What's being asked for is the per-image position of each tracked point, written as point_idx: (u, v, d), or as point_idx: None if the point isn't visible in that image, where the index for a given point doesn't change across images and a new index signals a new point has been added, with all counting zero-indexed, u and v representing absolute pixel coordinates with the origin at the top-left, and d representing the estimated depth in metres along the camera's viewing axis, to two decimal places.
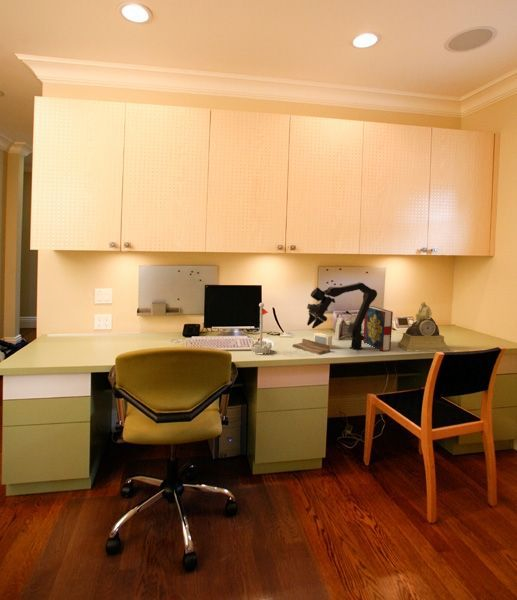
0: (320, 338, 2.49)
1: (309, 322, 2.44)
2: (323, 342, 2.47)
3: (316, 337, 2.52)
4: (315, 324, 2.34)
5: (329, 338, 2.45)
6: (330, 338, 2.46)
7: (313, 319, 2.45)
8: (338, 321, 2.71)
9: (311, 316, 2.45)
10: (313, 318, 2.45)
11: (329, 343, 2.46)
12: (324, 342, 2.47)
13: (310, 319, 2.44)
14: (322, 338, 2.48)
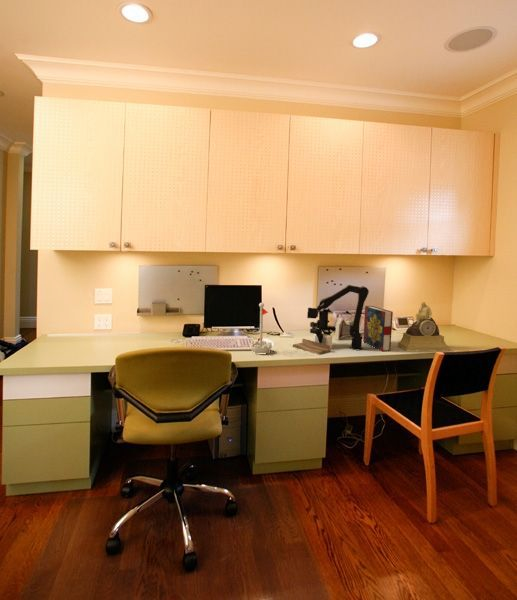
0: None
1: None
2: (323, 342, 2.47)
3: (316, 337, 2.52)
4: (319, 339, 2.49)
5: (329, 338, 2.46)
6: (330, 338, 2.46)
7: None
8: (338, 321, 2.71)
9: (324, 333, 2.53)
10: None
11: (329, 343, 2.46)
12: (324, 342, 2.47)
13: None
14: (322, 338, 2.48)
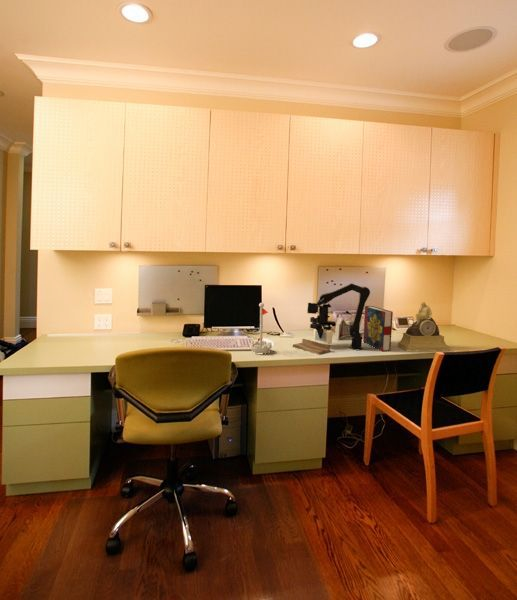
0: None
1: None
2: (323, 337, 2.47)
3: (316, 332, 2.51)
4: (319, 334, 2.48)
5: (329, 333, 2.45)
6: (330, 333, 2.46)
7: None
8: (338, 321, 2.71)
9: (324, 328, 2.52)
10: (326, 329, 2.51)
11: (329, 338, 2.46)
12: (324, 337, 2.46)
13: None
14: None
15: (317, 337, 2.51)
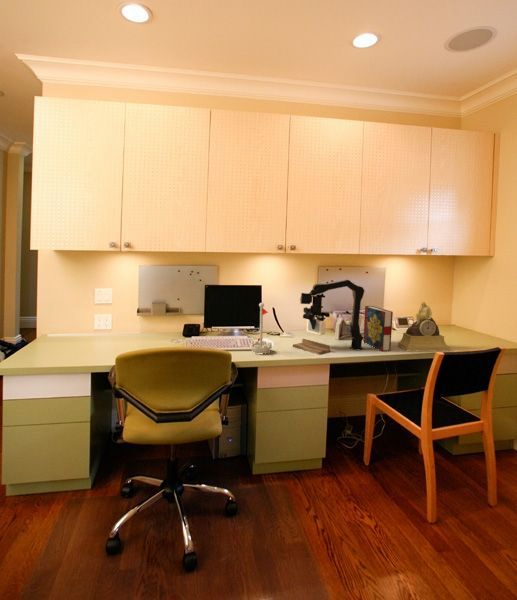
0: None
1: None
2: (316, 328, 2.42)
3: (309, 323, 2.46)
4: (312, 325, 2.43)
5: (322, 323, 2.40)
6: (323, 324, 2.41)
7: None
8: (338, 321, 2.71)
9: (318, 319, 2.47)
10: None
11: (322, 329, 2.41)
12: (317, 328, 2.42)
13: None
14: (315, 324, 2.43)
15: (310, 328, 2.46)
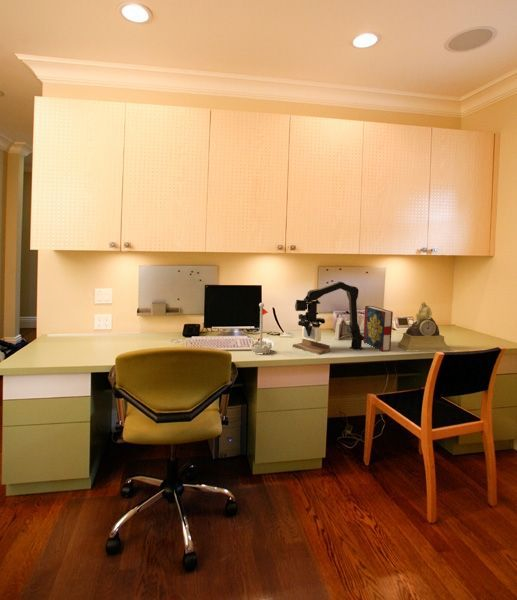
0: None
1: None
2: (312, 334, 2.40)
3: (305, 329, 2.44)
4: (307, 331, 2.41)
5: (318, 330, 2.38)
6: (319, 330, 2.38)
7: None
8: (338, 321, 2.71)
9: (313, 325, 2.45)
10: (315, 326, 2.43)
11: (318, 335, 2.38)
12: (313, 334, 2.39)
13: None
14: (311, 330, 2.40)
15: (305, 335, 2.44)
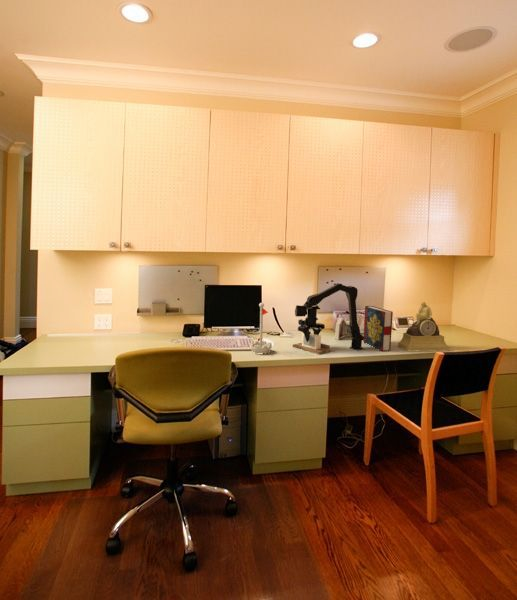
0: None
1: None
2: (311, 342, 2.40)
3: (304, 337, 2.45)
4: (306, 337, 2.40)
5: (318, 338, 2.38)
6: (319, 338, 2.39)
7: (316, 332, 2.44)
8: (338, 321, 2.71)
9: (314, 330, 2.46)
10: (316, 331, 2.44)
11: (318, 343, 2.39)
12: (312, 342, 2.40)
13: None
14: (310, 338, 2.41)
15: (305, 342, 2.44)
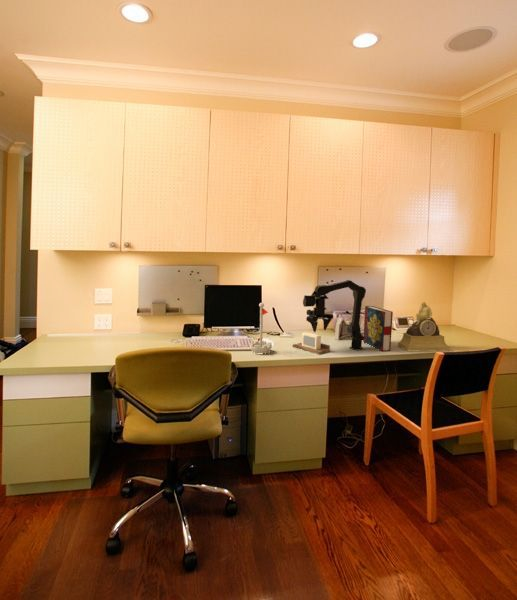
0: (308, 338, 2.42)
1: (324, 326, 2.44)
2: (311, 342, 2.40)
3: (304, 337, 2.45)
4: (313, 327, 2.38)
5: (318, 338, 2.38)
6: (319, 338, 2.39)
7: (326, 322, 2.43)
8: (338, 321, 2.71)
9: (324, 320, 2.45)
10: (326, 321, 2.44)
11: (318, 343, 2.39)
12: (312, 342, 2.40)
13: (324, 323, 2.45)
14: (310, 338, 2.41)
15: (305, 342, 2.44)
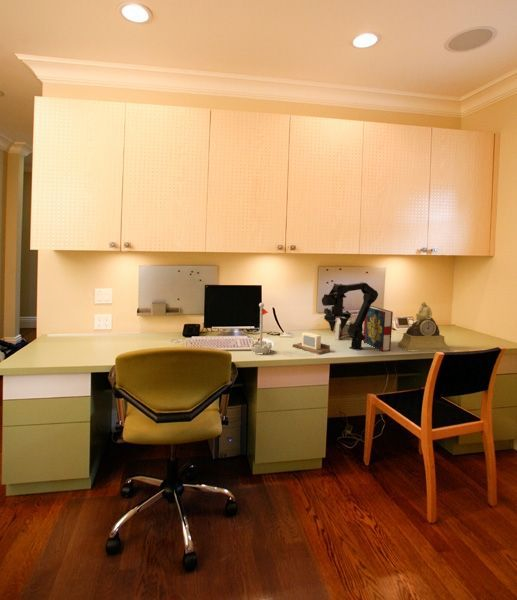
0: (308, 338, 2.42)
1: (341, 326, 2.42)
2: (311, 342, 2.40)
3: (304, 337, 2.45)
4: (331, 326, 2.36)
5: (318, 338, 2.38)
6: (319, 338, 2.39)
7: (344, 321, 2.41)
8: (338, 321, 2.71)
9: (341, 319, 2.43)
10: (343, 320, 2.41)
11: (318, 343, 2.39)
12: (312, 342, 2.40)
13: (341, 322, 2.43)
14: (310, 338, 2.41)
15: (305, 342, 2.44)
